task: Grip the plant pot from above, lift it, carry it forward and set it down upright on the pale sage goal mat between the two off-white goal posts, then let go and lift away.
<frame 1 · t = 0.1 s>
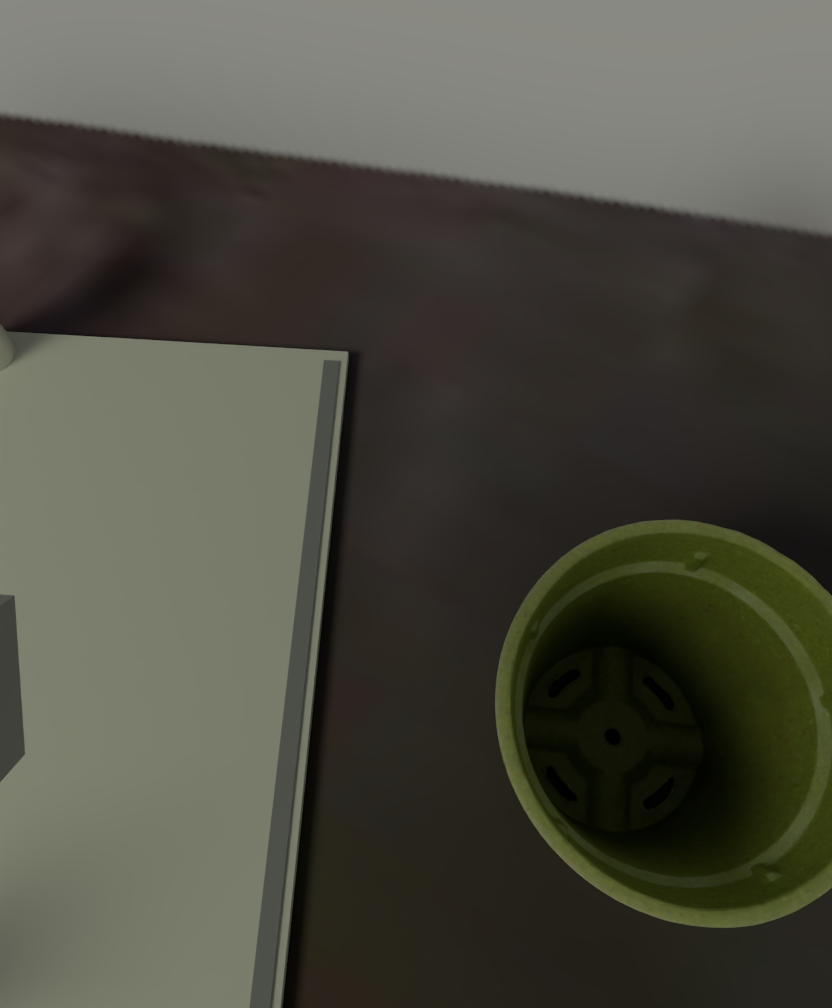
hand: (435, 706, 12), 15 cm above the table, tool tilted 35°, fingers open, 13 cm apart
plant pot: (605, 735, 27), on the table
goal mat: (98, 673, 27), on the table
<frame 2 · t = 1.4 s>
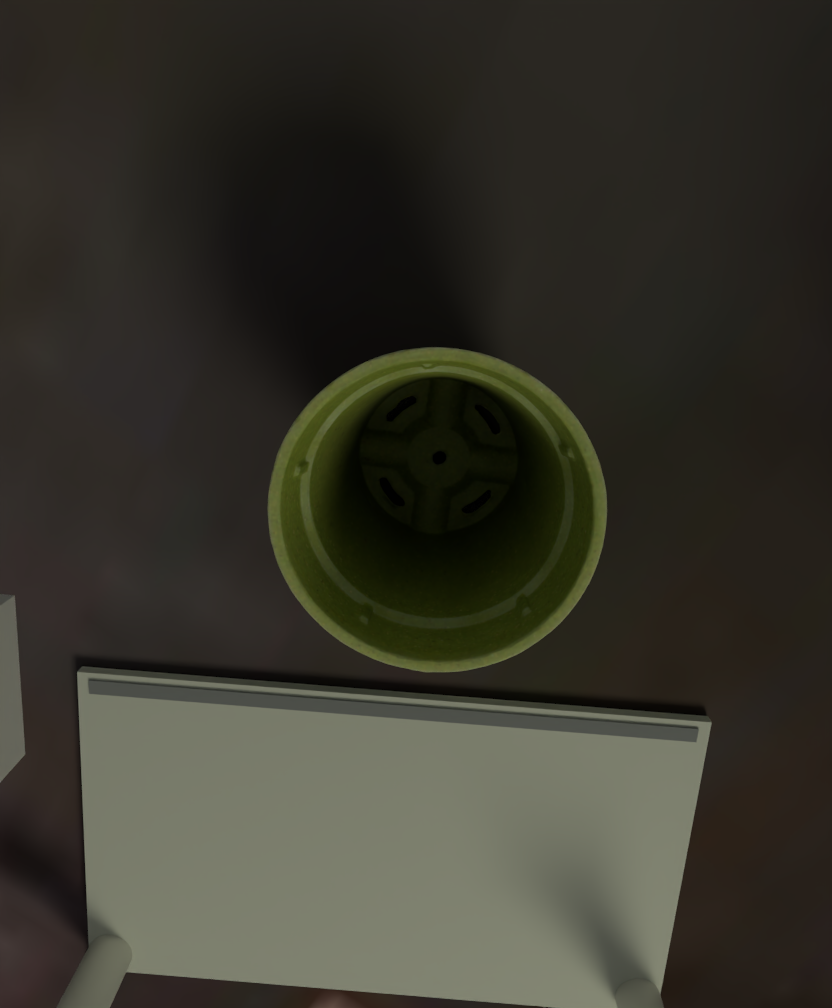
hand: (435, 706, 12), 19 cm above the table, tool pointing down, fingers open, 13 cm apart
plant pot: (437, 455, 31), on the table
goal mat: (382, 845, 35), on the table
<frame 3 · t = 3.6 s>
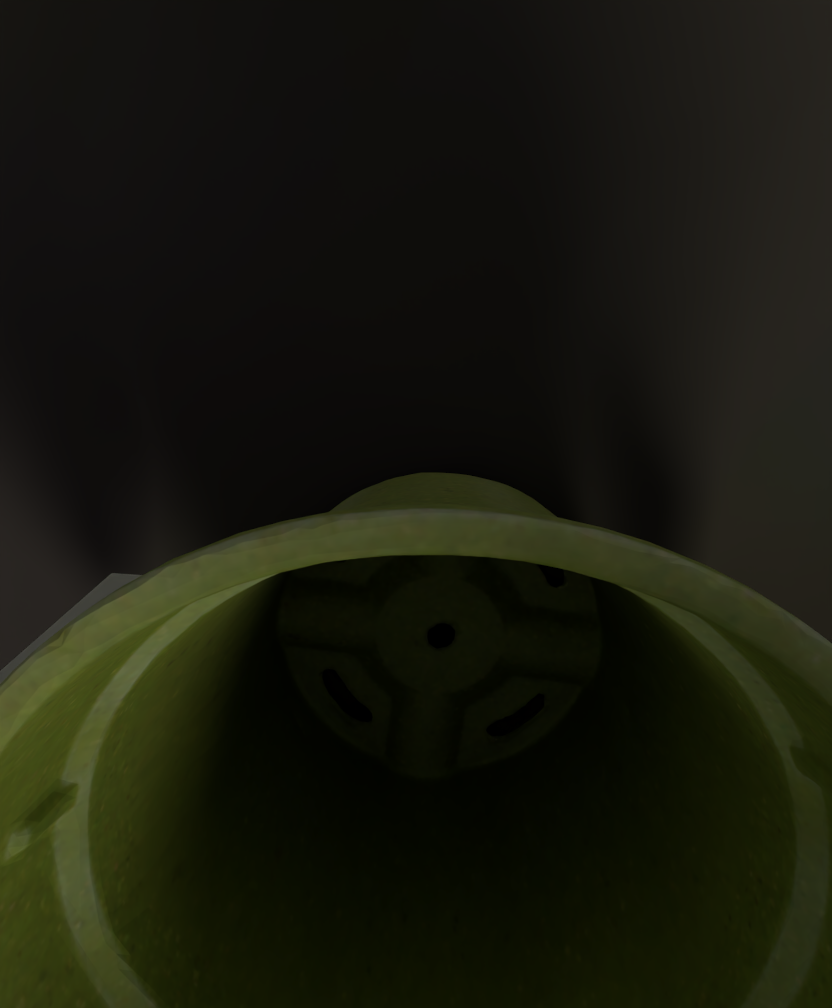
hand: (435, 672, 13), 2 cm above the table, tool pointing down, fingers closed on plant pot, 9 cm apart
plant pot: (436, 623, 15), on the table, touching gripper
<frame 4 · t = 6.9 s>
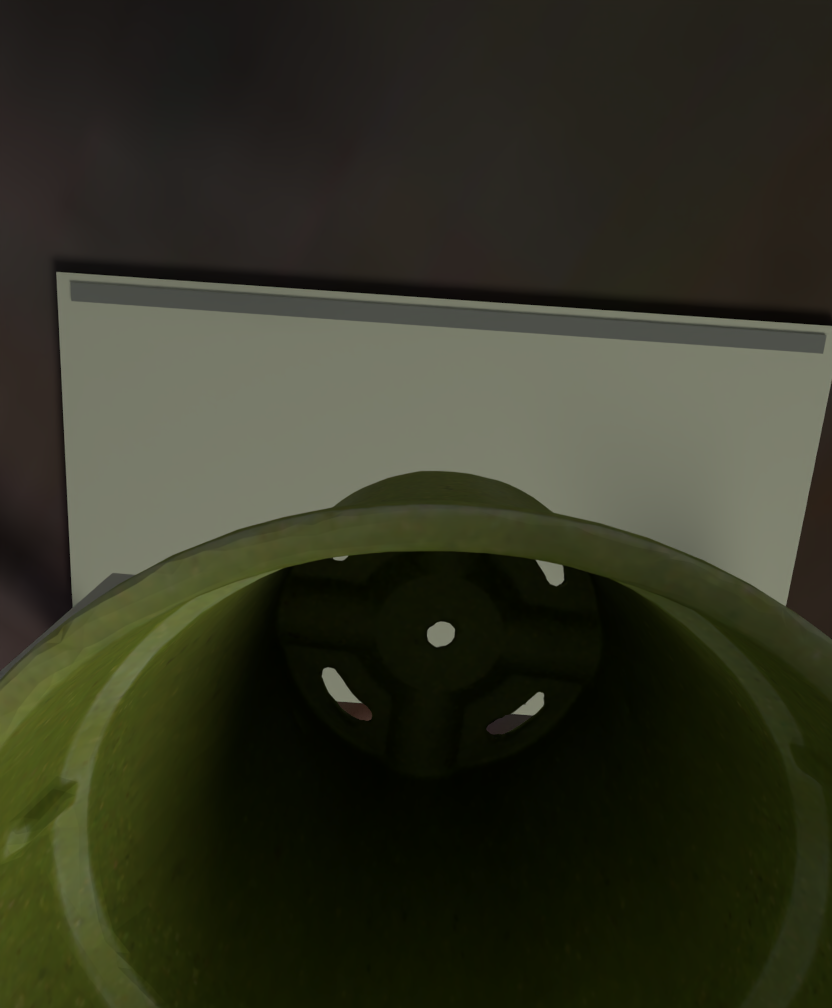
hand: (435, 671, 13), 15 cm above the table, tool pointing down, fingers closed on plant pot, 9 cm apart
plant pot: (436, 621, 15), point 13 cm above the table, touching gripper
goal mat: (432, 513, 29), on the table
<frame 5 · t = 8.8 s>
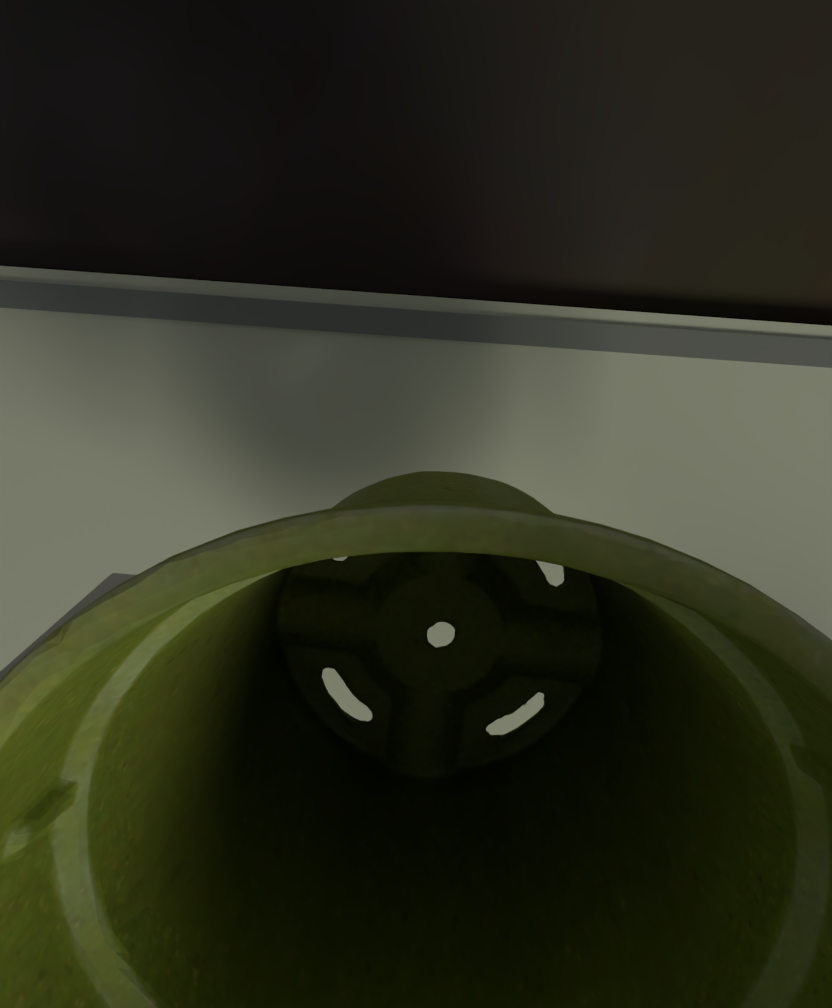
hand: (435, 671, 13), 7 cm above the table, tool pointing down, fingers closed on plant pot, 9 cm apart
plant pot: (436, 622, 15), point 4 cm above the table, touching gripper
goal mat: (435, 605, 20), on the table
when the fingers open (3 cm above the table, at t = 10.3 s): plant pot stays where it is, resting on goal mat.
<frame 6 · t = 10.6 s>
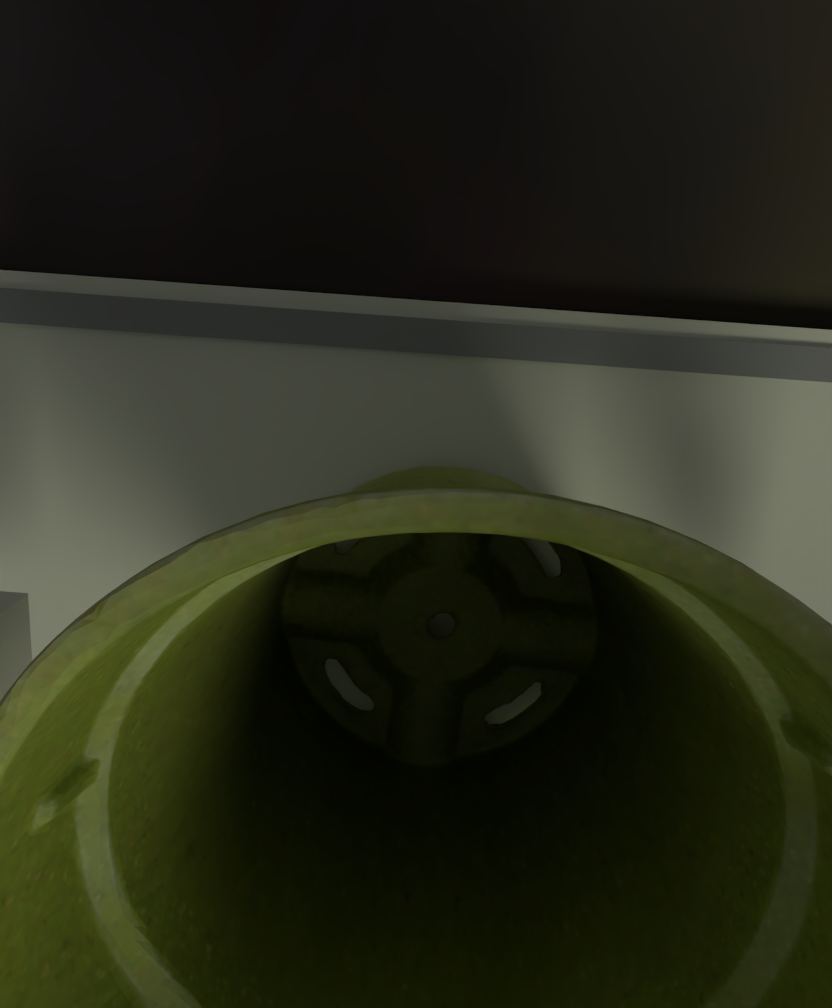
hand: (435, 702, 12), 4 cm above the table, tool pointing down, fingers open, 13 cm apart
plant pot: (436, 613, 16), resting on goal mat
goal mat: (429, 675, 16), on the table
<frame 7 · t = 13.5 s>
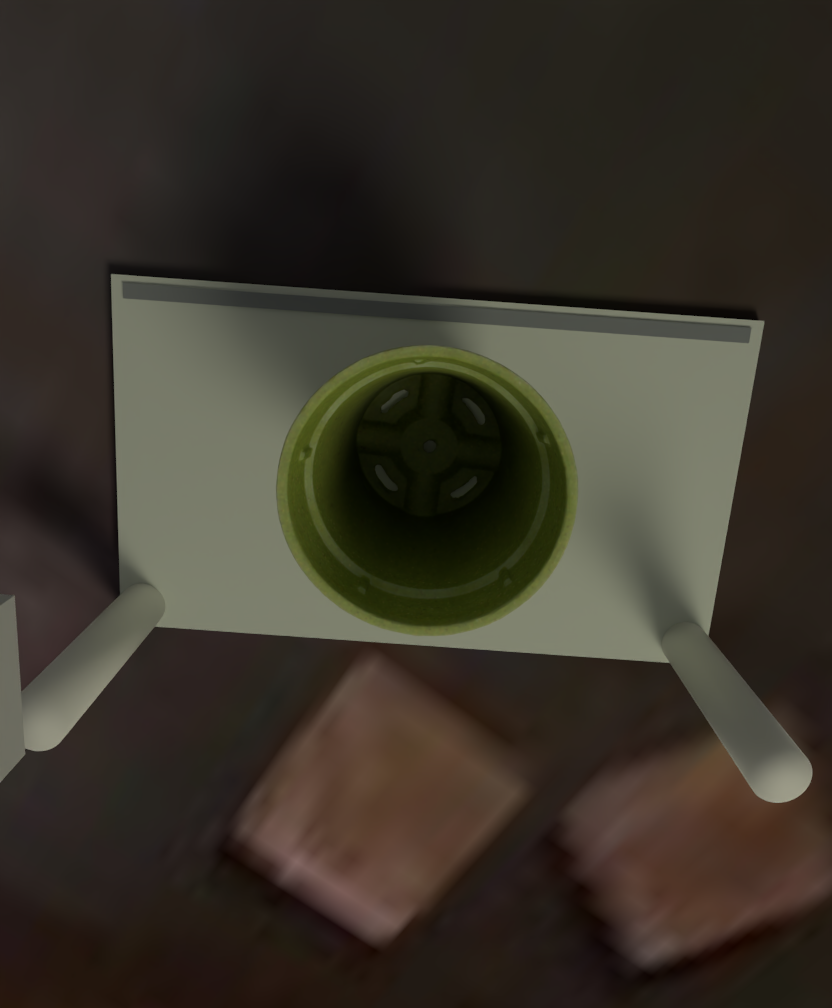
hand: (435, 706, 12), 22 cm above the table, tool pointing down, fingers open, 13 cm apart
plant pot: (427, 444, 33), resting on goal mat
goal mat: (424, 478, 34), on the table
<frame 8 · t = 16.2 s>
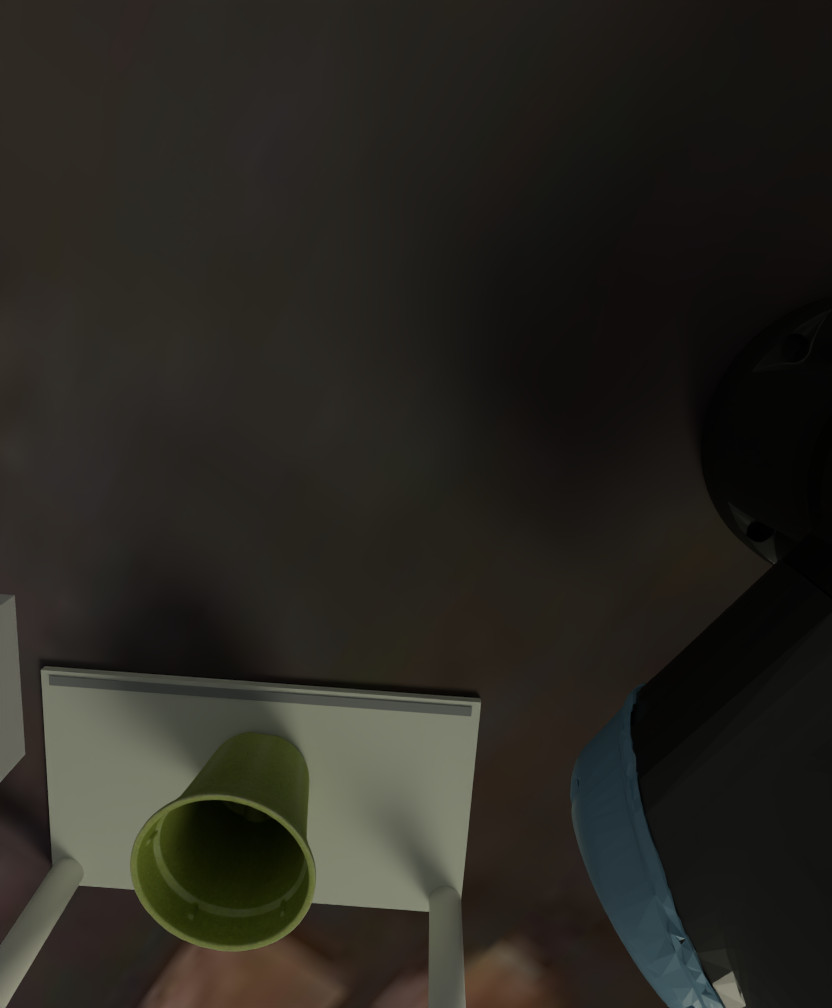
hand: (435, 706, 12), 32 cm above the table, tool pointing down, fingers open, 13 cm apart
plant pot: (259, 773, 49), resting on goal mat
goal mat: (260, 791, 49), on the table
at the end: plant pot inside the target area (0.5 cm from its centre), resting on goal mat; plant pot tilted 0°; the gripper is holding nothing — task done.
